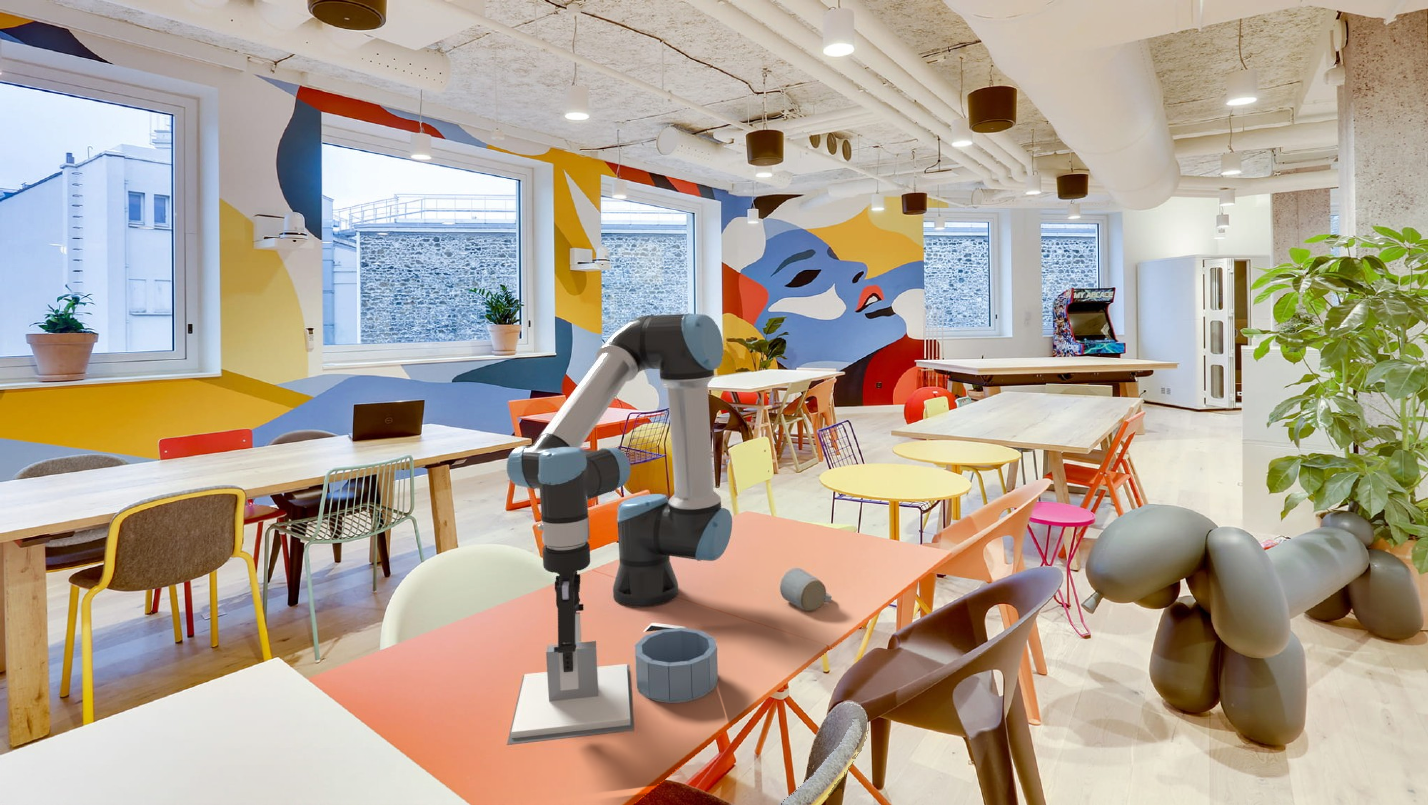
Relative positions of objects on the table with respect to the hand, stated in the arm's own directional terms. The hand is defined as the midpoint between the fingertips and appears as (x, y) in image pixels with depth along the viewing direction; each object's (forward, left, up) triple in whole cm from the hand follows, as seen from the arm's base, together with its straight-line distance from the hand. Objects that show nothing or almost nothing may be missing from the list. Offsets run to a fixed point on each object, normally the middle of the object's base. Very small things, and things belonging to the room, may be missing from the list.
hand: (571, 668), depth 115 cm
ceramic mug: (-32, +50, -7) cm, 59 cm away
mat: (0, 0, -6) cm, 6 cm away
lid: (0, 0, -6) cm, 6 cm away
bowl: (-3, +18, -6) cm, 19 cm away
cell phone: (-20, +15, -7) cm, 26 cm away
